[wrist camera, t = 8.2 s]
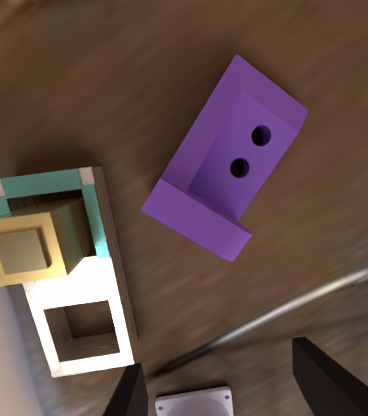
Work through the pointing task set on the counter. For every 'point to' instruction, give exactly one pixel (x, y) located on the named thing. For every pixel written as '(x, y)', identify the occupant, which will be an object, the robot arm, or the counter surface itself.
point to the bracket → (226, 160)
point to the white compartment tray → (79, 278)
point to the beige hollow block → (44, 241)
